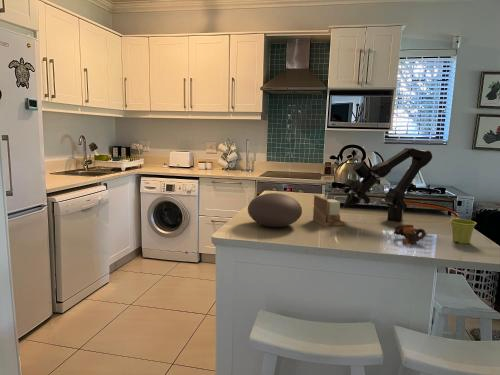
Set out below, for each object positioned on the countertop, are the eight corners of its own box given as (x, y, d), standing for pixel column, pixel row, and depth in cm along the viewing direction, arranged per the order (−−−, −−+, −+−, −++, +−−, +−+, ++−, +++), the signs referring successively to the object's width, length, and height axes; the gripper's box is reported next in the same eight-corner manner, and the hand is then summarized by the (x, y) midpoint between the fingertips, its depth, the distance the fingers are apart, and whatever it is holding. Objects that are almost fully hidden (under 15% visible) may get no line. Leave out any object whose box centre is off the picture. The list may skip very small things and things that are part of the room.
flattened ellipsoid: (291, 235, 158) (292, 201, 155) (238, 228, 168) (238, 195, 165) (307, 223, 180) (309, 192, 177) (259, 216, 190) (260, 187, 188)
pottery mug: (395, 245, 150) (391, 225, 153) (396, 249, 158) (393, 230, 161) (428, 241, 146) (423, 221, 149) (428, 246, 154) (423, 226, 157)
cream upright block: (332, 216, 186) (334, 199, 184) (339, 220, 179) (340, 202, 178) (322, 217, 185) (323, 199, 183) (329, 220, 178) (330, 202, 176)
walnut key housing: (332, 219, 189) (334, 194, 187) (343, 225, 177) (345, 199, 175) (312, 219, 186) (314, 195, 184) (323, 226, 175) (324, 199, 173)
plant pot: (452, 244, 151) (454, 223, 150) (444, 237, 161) (447, 217, 159) (477, 246, 150) (480, 225, 148) (468, 239, 159) (471, 219, 158)
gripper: (346, 170, 190) (325, 192, 189) (366, 175, 172) (342, 199, 171) (359, 186, 193) (338, 207, 192) (380, 192, 175) (357, 216, 174)
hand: (343, 207), depth 183 cm, fingers closed
